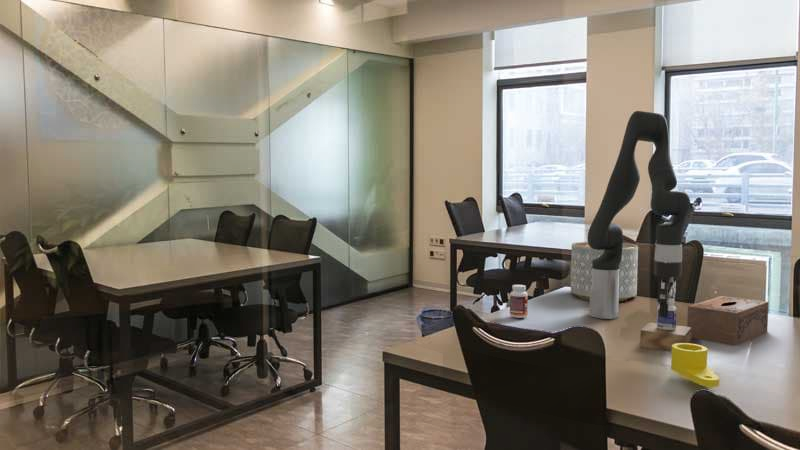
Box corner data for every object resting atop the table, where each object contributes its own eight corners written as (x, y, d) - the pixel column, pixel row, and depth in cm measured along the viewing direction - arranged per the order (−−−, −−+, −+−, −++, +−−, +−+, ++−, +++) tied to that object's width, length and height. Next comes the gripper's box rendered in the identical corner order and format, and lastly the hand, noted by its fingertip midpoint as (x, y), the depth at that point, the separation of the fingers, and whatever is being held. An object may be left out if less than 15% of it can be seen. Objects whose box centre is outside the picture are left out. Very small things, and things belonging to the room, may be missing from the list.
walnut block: (640, 347, 192) (640, 330, 192) (648, 338, 202) (649, 322, 202) (684, 352, 186) (684, 335, 185) (690, 343, 196) (691, 327, 195)
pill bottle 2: (677, 331, 191) (678, 300, 190) (658, 330, 192) (659, 300, 191) (673, 326, 196) (674, 297, 195) (655, 326, 197) (656, 296, 196)
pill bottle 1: (528, 318, 231) (529, 287, 230) (510, 318, 231) (511, 287, 230) (526, 314, 237) (526, 284, 236) (508, 314, 237) (509, 284, 236)
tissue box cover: (735, 346, 194) (736, 313, 193) (686, 337, 204) (687, 306, 203) (767, 332, 211) (768, 301, 210) (720, 325, 222) (721, 295, 221)
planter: (573, 304, 255) (574, 247, 254) (567, 293, 280) (568, 241, 279) (642, 307, 251) (643, 249, 249) (630, 295, 276) (631, 242, 274)
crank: (666, 365, 174) (666, 342, 174) (698, 365, 174) (699, 343, 174) (694, 386, 156) (695, 362, 156) (730, 387, 156) (731, 362, 156)
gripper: (659, 256, 200) (657, 308, 201) (649, 261, 188) (647, 317, 189) (686, 257, 196) (684, 311, 197) (677, 263, 184) (675, 320, 185)
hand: (666, 314), depth 193 cm, fingers open, 8 cm apart
